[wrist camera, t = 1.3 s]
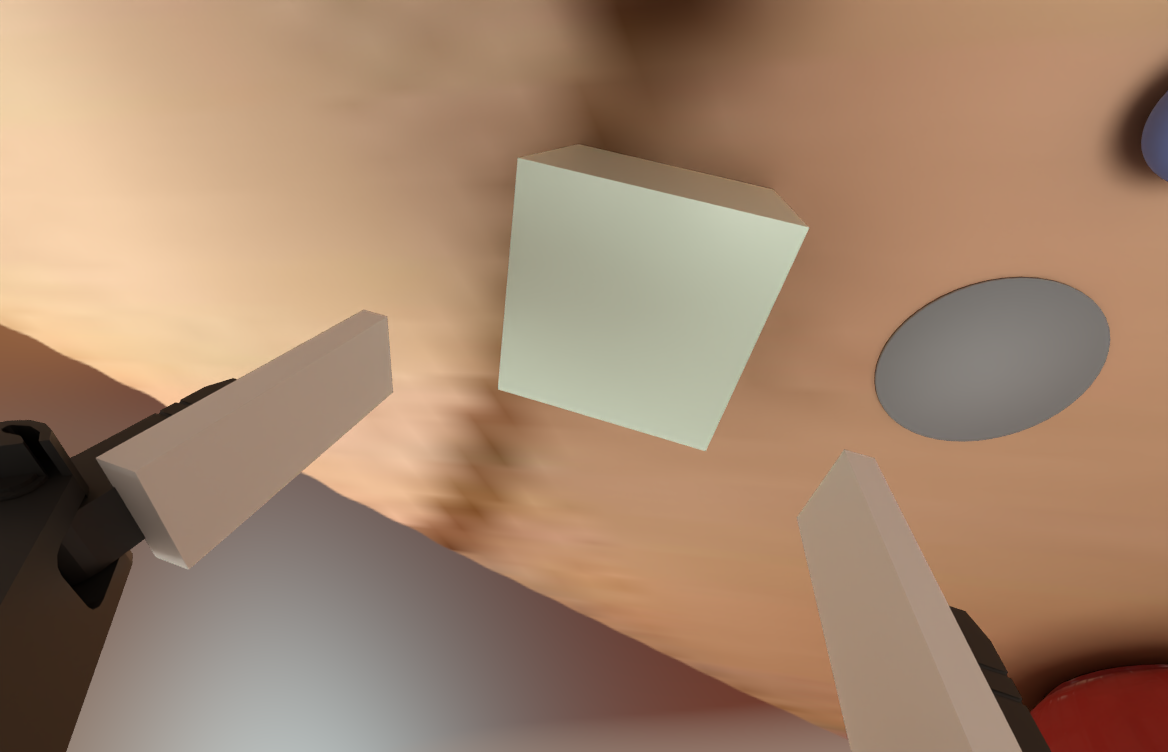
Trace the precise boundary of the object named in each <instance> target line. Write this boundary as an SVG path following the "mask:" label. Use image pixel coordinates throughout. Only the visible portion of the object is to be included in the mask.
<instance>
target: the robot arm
mask: <svg viewBox="0 0 1168 752" xmlns="http://www.w3.org/2000/svg"><path fill="white" fill-rule="evenodd" d="M391 393H393V385H392V372H391V359H390V346H389V333H388V319H387V316H384V315H380V314H377V313H373V312H370V311H367V310H362V311H360V312H359V313H357V314H355V315H353V316H351V317H350V318H348V319H346V320H344V321H342V322H340V323H339V324H337V325H335V326H333V327H331V328H330V329H328V330H326V331H324V332H322V333H321V334H319V335H317V336H315V337H313V338H312V339H310V340H308V341H306V342H304V343H303V344H301V345H299V346H297V347H295V348H293V349H292V350H290V351H288V352H286V353H284V354H283V355H281V356H279V357H277V358H275V359H274V360H272V361H270V362H268V363H266V364H265V365H263V366H261V367H259V368H257V369H255V370H254V371H252V372H250V373H248V374H246V375H245V376H243V377H241V378H239V379H234V378H232V379H229V380H226V381H222V382H219V383H216V384H213V385H209V386H206V387H204V388H202V389H200V390H198V391H196V392H194V393H192V394H191V395H189V396H187V397H185V398H183V399H181V401H180V403H174V404H172V405H170V406H168V407H166V408H164V409H162V410H161V411H160V413H159V414H153V415H151V416H149V417H147V418H145V419H144V420H142V421H140V422H138V423H136V424H134V425H132V426H130V427H129V428H127V429H125V430H123V431H121V432H119V433H117V434H115V435H114V436H112V437H110V438H108V439H107V440H104V441H102V442H100V443H98V444H97V445H95V446H93V447H91V448H89V449H87V450H85V451H84V452H82V453H80V454H78V455H76V456H73V457H71V458H70V457H69V456H68V455H67V453H66V451H65V450H64V448H63V447H62V445H61V444H60V442H59V441H58V439H57V438H56V436H55V434H54V433H53V431H52V430H51V429H50V428H49V427H48V426H47V425H46V424H45V423H40V422H36V421H31V420H19V421H18V420H17V421H5V422H0V752H66V751H67V748H68V745H69V742H70V739H71V736H72V734H73V731H74V728H75V725H76V722H77V719H78V716H79V714H80V711H81V708H82V705H83V702H84V699H85V697H86V694H87V690H88V688H89V685H90V682H91V680H92V677H93V674H94V671H95V668H96V665H97V663H98V660H99V657H100V654H101V651H102V648H103V645H104V643H105V640H106V637H107V634H108V631H109V628H110V626H111V623H112V620H113V617H114V614H115V612H116V608H117V606H118V603H119V600H120V597H121V595H122V592H123V589H124V586H125V583H126V580H127V577H128V575H129V572H130V569H131V566H132V559H133V554H132V553H131V551H130V549H131V548H133V547H134V546H136V545H137V544H138V543H140V542H141V541H142V540H144V539H145V540H146V541H147V543H148V545H149V547H150V548H151V550H152V552H153V553H154V555H155V557H157V558H160V559H162V560H165V561H167V562H170V563H173V564H175V565H178V566H181V567H183V568H186V569H190V568H191V567H192V566H194V565H195V564H196V563H197V562H198V561H199V560H200V559H202V558H203V557H204V556H205V555H206V554H207V553H209V552H210V551H211V550H212V549H213V548H214V547H215V546H216V545H218V544H219V543H220V542H221V541H222V540H223V539H225V538H226V537H227V536H228V535H229V534H230V533H232V532H233V531H234V530H235V529H236V528H237V527H238V526H240V525H241V524H242V523H243V522H244V521H245V520H246V519H247V518H249V517H250V516H251V515H252V514H253V513H255V512H256V511H257V510H258V509H259V508H260V507H261V506H263V504H265V503H266V502H267V501H268V500H269V499H270V498H272V497H273V496H274V495H275V494H276V493H278V492H279V491H280V490H281V489H282V488H283V487H284V486H286V485H287V484H288V483H289V482H290V481H291V480H292V479H294V478H295V477H296V476H297V475H298V474H299V473H301V472H302V471H303V470H304V469H305V468H306V467H307V466H309V465H310V464H311V463H312V462H313V461H314V460H315V459H317V458H318V457H319V456H320V455H321V454H322V453H324V452H325V451H326V450H327V449H328V448H329V447H330V446H332V445H333V444H334V443H335V442H336V441H337V440H338V439H340V438H341V437H342V436H343V435H344V434H345V433H347V432H348V431H349V430H350V429H351V428H352V427H353V426H355V425H356V424H357V423H358V422H359V421H360V420H362V419H363V418H364V417H365V416H366V415H367V414H368V413H370V412H371V411H372V410H373V409H374V408H375V407H376V406H378V405H379V404H380V403H381V402H382V401H383V400H385V399H386V398H387V397H388V396H389V395H390V394H391ZM797 521H798V525H799V529H800V533H801V538H802V542H803V546H804V551H805V555H806V559H807V564H808V568H809V572H810V577H811V581H812V585H813V590H814V594H815V598H816V602H817V607H818V611H819V615H820V620H821V624H822V628H823V633H824V637H825V641H826V646H827V650H828V654H829V658H830V663H831V667H832V671H833V676H834V680H835V684H836V689H837V693H838V697H839V702H840V706H841V710H842V715H843V719H844V723H845V727H846V732H847V736H848V740H849V745H850V749H851V752H1051V750H1050V748H1049V746H1048V745H1047V743H1046V741H1045V739H1044V737H1043V735H1042V734H1041V732H1040V730H1039V728H1038V726H1037V724H1036V723H1035V721H1034V719H1033V717H1032V715H1031V714H1030V712H1029V710H1028V708H1027V706H1025V705H1023V704H1022V702H1021V701H1022V697H1021V695H1020V694H1019V692H1018V690H1017V688H1016V686H1015V684H1014V683H1013V681H1012V679H1011V678H1008V677H1007V673H1008V672H1007V670H1006V668H1005V666H1004V664H1003V663H1002V661H1001V659H1000V657H999V655H998V654H997V652H996V650H995V648H994V646H993V644H992V643H991V641H990V640H989V639H988V637H987V636H986V635H985V634H984V633H983V631H982V630H981V629H980V628H979V627H978V626H977V624H976V623H975V622H974V621H973V620H972V619H971V617H970V616H969V615H968V614H967V613H966V611H963V610H960V609H957V608H954V607H951V606H949V605H948V603H947V601H946V599H945V597H944V595H943V593H942V591H941V589H940V587H939V585H938V583H937V581H936V579H935V577H934V575H933V573H932V571H931V569H930V567H929V565H928V563H927V561H926V559H925V558H924V556H923V554H922V552H921V550H920V548H919V546H918V544H917V542H916V540H915V538H914V536H913V534H912V532H911V530H910V528H909V526H908V524H907V522H906V520H905V518H904V516H903V514H902V512H901V510H900V508H899V506H898V504H897V502H896V500H895V498H894V496H893V494H892V492H891V490H890V488H889V486H888V484H887V482H886V480H885V478H884V476H883V474H882V472H881V470H880V468H879V466H878V464H877V462H876V460H875V458H872V457H869V456H866V455H862V454H859V453H855V452H852V451H848V450H845V449H844V450H843V452H842V453H841V455H840V456H839V458H838V459H837V461H836V462H835V463H834V465H833V466H832V468H831V469H830V471H829V472H828V473H827V475H826V476H825V478H824V479H823V481H822V482H821V483H820V485H819V486H818V488H817V489H816V491H815V492H814V493H813V495H812V496H811V498H810V499H809V501H808V502H807V503H806V505H805V506H804V508H803V509H802V511H801V512H800V513H799V515H798V516H797Z"/></svg>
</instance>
